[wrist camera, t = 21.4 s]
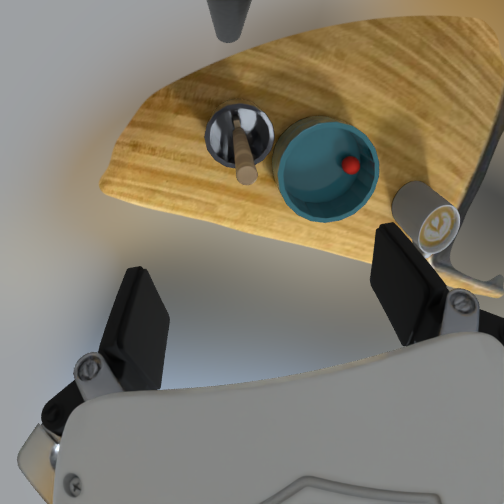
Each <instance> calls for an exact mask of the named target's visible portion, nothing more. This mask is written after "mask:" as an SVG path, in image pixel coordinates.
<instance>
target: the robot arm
mask: <svg viewBox="0 0 504 504" xmlns="http://www.w3.org/2000/svg"><path fill="white" fill-rule="evenodd" d="M370 283H371V286H372V288H373V290H374V292H375V294H376V296H377V298H378V299H379V301H380V303H381V305H382V307H383V309H384V311H385V312H386V314H387V316H388V318H389V320H390V322H391V324H392V326H393V328H394V330H395V332H396V334H397V336H398V338H399V340H400V342H401V344H402V345H403V346H406V347H403V348H400V349H396V350H393V351H389V352H386V353H383V354H379V355H376V356H372V357H369V358H365V359H361V360H357V361H354V362H349V363H346V364H342V365H337V366H333V367H328V368H324V369H319V370H315V371H310V372H305V373H300V374H295V375H289V376H285V377H278V378H272V379H266V380H259V381H252V382H245V383H237V384H229V385H220V386H211V387H210V386H209V387H199V388H185V389H171V390H170V389H168V390H157V389H160V388H161V381H162V373H163V365H164V358H165V350H166V343H167V336H168V330H169V323H170V318H169V314H168V312H167V310H166V308H165V306H164V304H163V302H162V300H161V298H160V296H159V294H158V292H157V290H156V288H155V286H154V283H153V281H152V279H151V277H150V275H149V273H148V271H147V270H146V269H143V268H142V267H141V266H139V267H133V268H128V269H127V271H126V273H125V276H124V278H123V281H122V283H121V286H120V289H119V291H118V294H117V296H116V299H115V302H114V305H113V308H112V310H111V313H110V316H109V319H108V322H107V324H106V327H105V331H104V334H103V337H102V340H101V343H100V346H99V351H98V353H97V352H91V353H87V354H85V355H84V356H82V357H81V358H80V359H79V360H78V361H77V363H76V365H75V368H74V373H73V374H74V378H75V380H74V381H73V382H71V383H70V384H69V385H68V386H67V387H65V388H64V389H63V390H62V391H60V392H59V393H58V394H57V395H56V396H54V397H53V398H52V399H51V400H50V401H48V403H46V405H45V406H44V408H43V410H42V414H41V420H42V424H41V425H40V424H39V423H38V424H37V426H36V427H35V429H34V430H33V432H32V433H31V434H30V436H29V437H28V439H27V441H26V442H25V444H24V445H23V446H22V448H21V450H20V451H19V453H18V457H17V462H18V466H19V468H20V470H21V471H22V473H23V474H24V475H25V477H26V478H27V479H28V481H29V482H30V483H31V485H32V486H33V487H34V488H35V490H36V491H37V492H38V493H39V495H40V496H41V497H42V498H43V499H44V501H45V502H46V503H47V504H504V318H502V317H499V316H497V315H494V314H491V313H489V312H486V311H483V310H481V309H479V302H478V300H477V298H476V297H475V295H474V294H472V293H471V292H470V291H468V290H465V289H461V288H456V289H453V290H451V291H449V290H448V289H447V287H446V284H445V283H444V282H443V280H442V279H441V278H440V276H439V275H438V274H437V273H436V271H435V270H434V269H433V267H432V266H431V265H430V264H429V262H428V261H427V260H426V259H425V258H424V256H423V255H422V254H421V253H420V252H419V250H418V249H417V248H416V247H415V246H414V244H413V243H412V242H411V241H410V240H409V239H408V237H407V236H406V235H405V234H404V233H403V232H402V231H401V230H400V228H399V227H398V226H397V225H396V224H395V223H393V222H391V223H385V224H381V225H380V226H379V228H377V229H376V234H375V244H374V253H373V261H372V268H371V276H370Z"/></svg>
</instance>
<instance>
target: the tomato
mask: <svg viewBox="0 0 504 504" xmlns="http://www.w3.org/2000/svg"><path fill="white" fill-rule="evenodd" d="M342 169H343V170H344V172H345V173H347V174H350V175H353V174H356V173H357V172H358V171H359V169H360V163H359V161H358V159H357V158H355V157H353V156H348V157H346V158H344V159H343V161H342Z"/></svg>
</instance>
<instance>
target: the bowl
mask: <svg viewBox="0 0 504 504" xmlns="http://www.w3.org/2000/svg"><path fill="white" fill-rule="evenodd" d="M348 156H353V157H355V158H357V159H358V161H359V163H360V169H359V171H358V172H357V173H356V174H353V175H350V174H347V173H345V172H344V170H343V169H342V161H343V159H344V158H346V157H348ZM272 170H273V175H274V179H275V181H276V183H277V186H278V188H279V190H280V192H281V194H282V196H283V198H284V200H285V202H286V204H287V205H288V206H289V207H290V208H291V209H292V210H293V211H294V212H295V213H296V214H297V215H299V216H301V217H303V218H305V219H308V220H310V221H315V222H323V223H327V222H333V221H339V220H342V219H344V218H346V217H349V216H351V215H353V214H355V213H356V212H357V211H358V210H359V209H360V208H362V207H363V206H364V205H365V204H366V203H367V201H368V200H369V198H370V197H371V195H372V194H373V192H374V190H375V187H376V184H377V181H378V178H379V160H378V156H377V153H376V150H375V147H374V146H373V144H372V143H371V141H370V140H369V139H368V137H367V136H366V135H365V134H364V133H362V132H361V131H360V130H358V129H357V128H355V127H354V126H352V125H350V124H348V123H345V122H343V121H341V120H339V119H335V118H332V117H327V116H313V117H308V118H304V119H302V120H300V121H297V122H296V123H294V124H293V125H291V126H290V127H289V128H288V129H287V130H286V131H285V132H284V133H283V134H282V135H281V137H280V138H279V140H278V142H277V144H276V146H275V149H274V152H273V156H272Z"/></svg>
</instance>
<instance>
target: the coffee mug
mask: <svg viewBox="0 0 504 504" xmlns="http://www.w3.org/2000/svg"><path fill="white" fill-rule="evenodd" d="M392 214H393V218H394V219H395V221H396V222H397V223H398V224H399V225H400V226H401V227H402V228H403V230H404V231H405V232H406V233H407V234H408V235H409V236H410V237H411V239H412V242H413V244H414V246H415V247H416V248H417V249H418V250H419V252H420V253H421V254H422V255H423V256H424V258H428V257H429V256H430V255H431V254H434V253H438V252H440V251H442V250H443V249H445V248H446V247H447V246H448V245H449V244H450V243H451V242H452V241H453V239H454V238H455V236H456V234H457V232H458V229H459V225H460V216H459V212H458V210H457V209H456V208H455V207H454V206H453V205H452V204H450V203H449V202H448V201H447V200H445V199H444V198H443V197H442V196H440V195H439V194H438V193H437V192H435V191H434V190H433V189H431V188H430V187H429V186H427V185H426V184H425V183H423V182H420V181H413V182H409V183H407V184H406V185H404V186H403V187H402V188H401V189H400V190H399V191H398V192H397V194H396V196H395V198H394V200H393V204H392Z"/></svg>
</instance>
